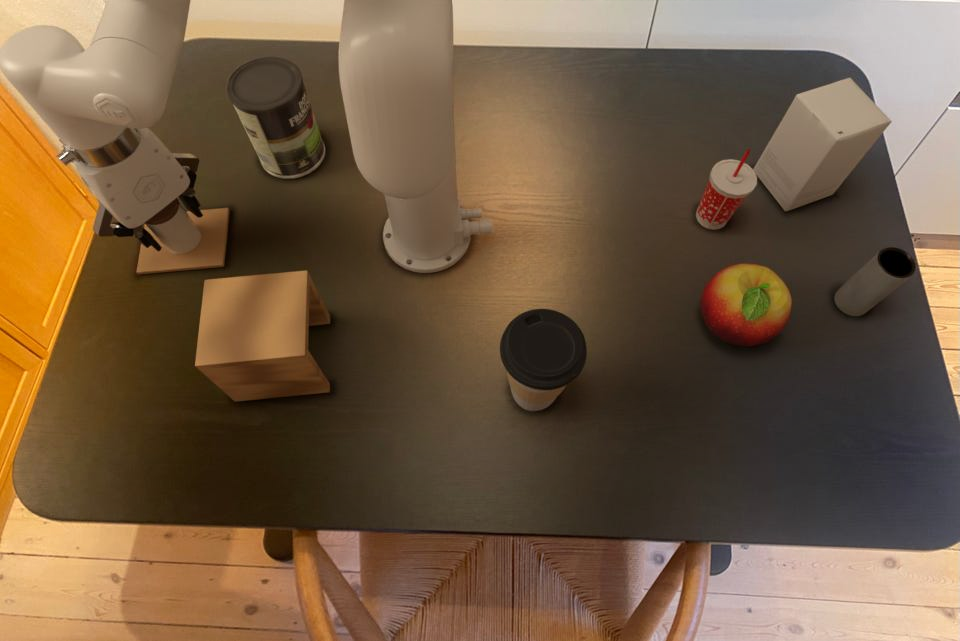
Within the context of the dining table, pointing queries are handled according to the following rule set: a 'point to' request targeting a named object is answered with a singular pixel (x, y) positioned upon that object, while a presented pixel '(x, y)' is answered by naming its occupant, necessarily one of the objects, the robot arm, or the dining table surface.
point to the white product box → (819, 143)
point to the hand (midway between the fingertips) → (174, 227)
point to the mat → (201, 256)
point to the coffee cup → (541, 356)
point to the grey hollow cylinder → (875, 281)
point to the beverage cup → (725, 192)
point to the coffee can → (277, 116)
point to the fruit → (745, 304)
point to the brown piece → (261, 335)
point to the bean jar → (175, 228)
